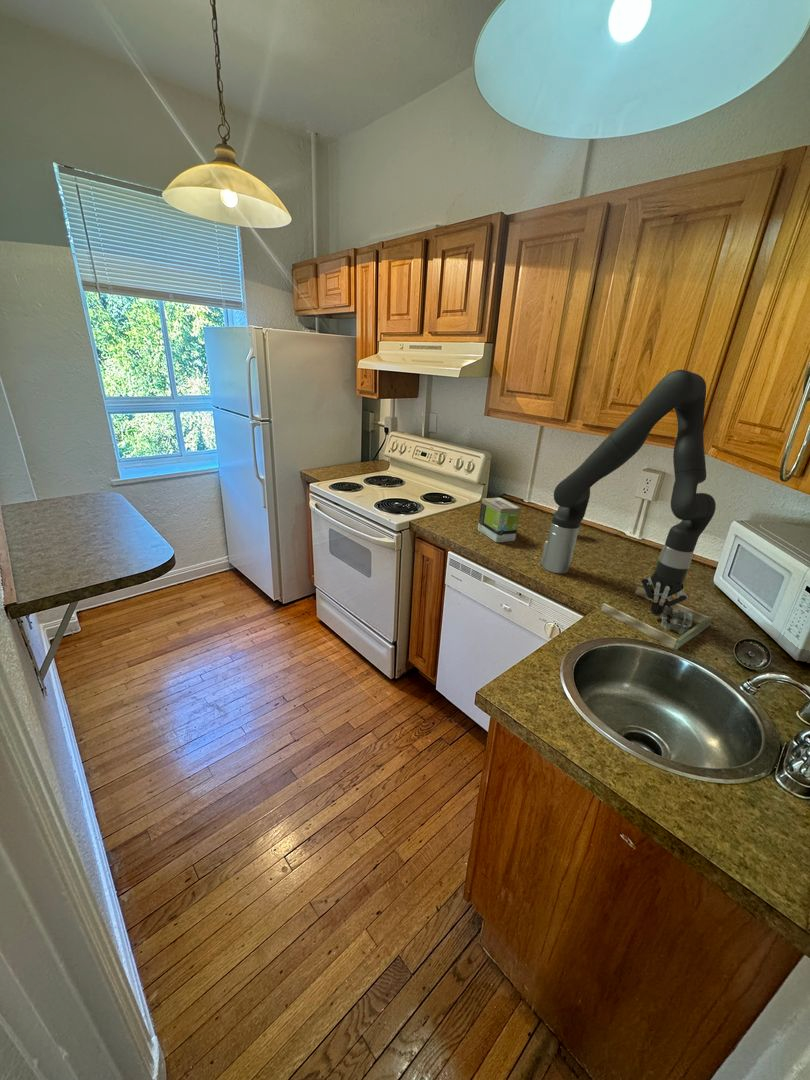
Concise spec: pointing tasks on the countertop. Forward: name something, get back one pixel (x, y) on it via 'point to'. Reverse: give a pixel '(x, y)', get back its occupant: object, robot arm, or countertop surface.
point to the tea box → (499, 519)
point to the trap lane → (658, 634)
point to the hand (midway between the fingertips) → (655, 614)
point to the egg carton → (676, 620)
